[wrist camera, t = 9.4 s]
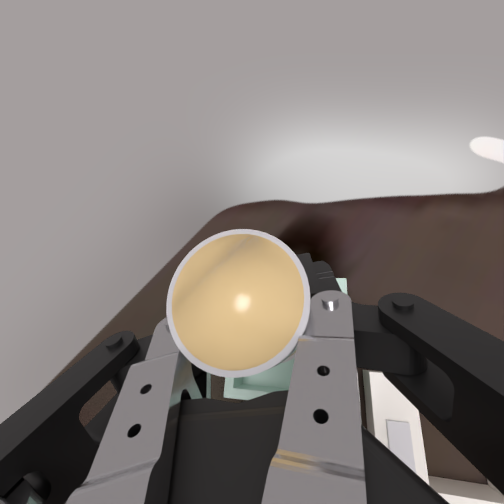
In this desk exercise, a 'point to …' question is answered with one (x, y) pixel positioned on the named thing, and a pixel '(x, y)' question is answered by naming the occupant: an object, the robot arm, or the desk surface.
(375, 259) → the desk surface
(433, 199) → the desk surface
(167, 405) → the robot arm
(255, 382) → the parts tray
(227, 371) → the white and tan cylinder
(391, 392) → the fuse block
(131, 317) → the desk surface
